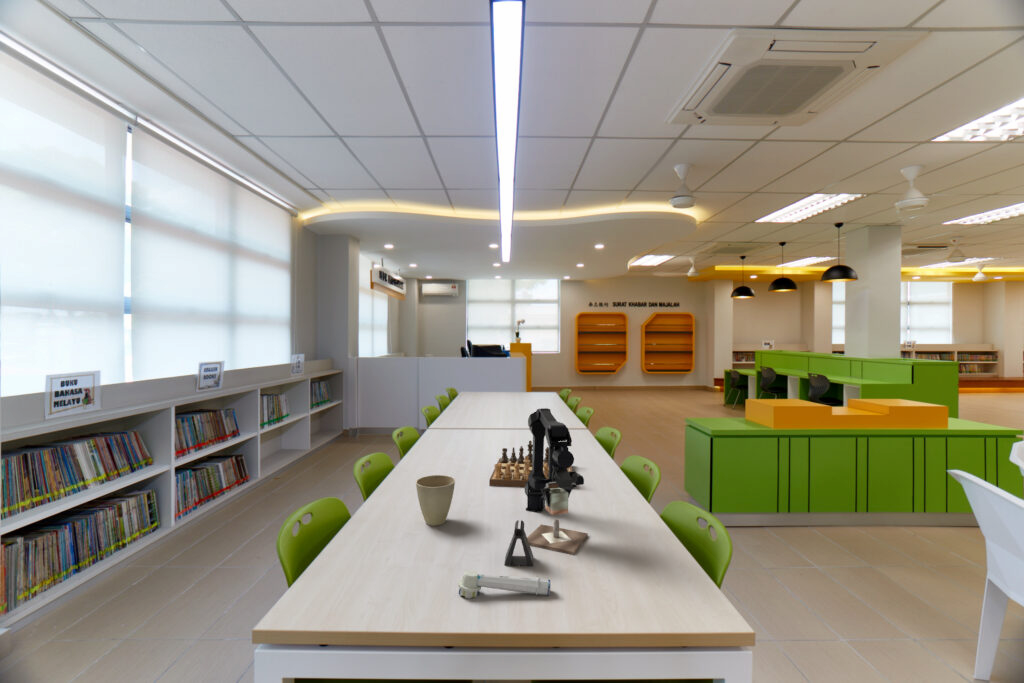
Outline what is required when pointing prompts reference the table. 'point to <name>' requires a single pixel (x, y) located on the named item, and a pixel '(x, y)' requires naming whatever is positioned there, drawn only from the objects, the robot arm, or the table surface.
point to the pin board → (557, 538)
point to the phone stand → (528, 557)
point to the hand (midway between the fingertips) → (556, 505)
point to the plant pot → (435, 497)
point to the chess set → (517, 469)
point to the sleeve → (558, 501)
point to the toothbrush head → (501, 584)
